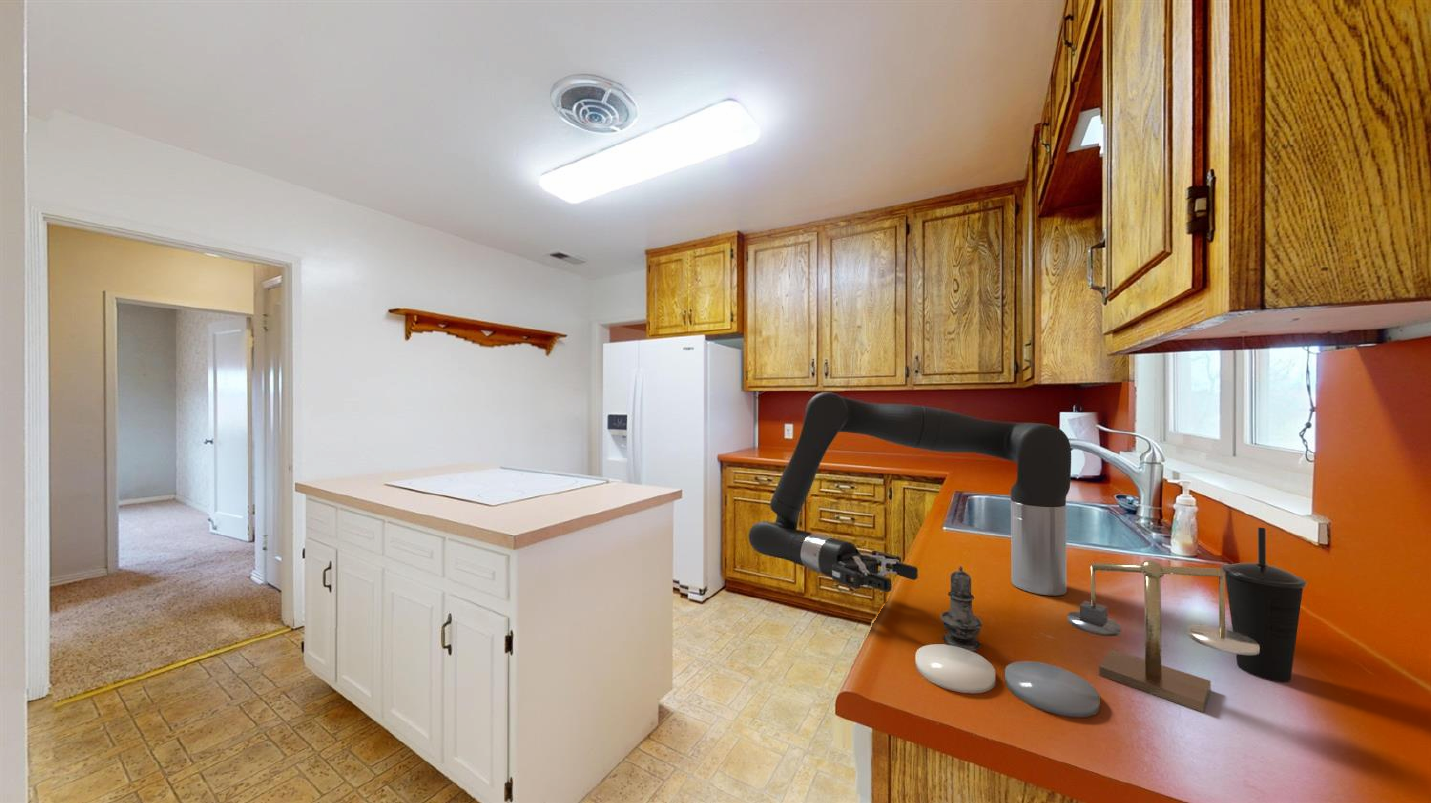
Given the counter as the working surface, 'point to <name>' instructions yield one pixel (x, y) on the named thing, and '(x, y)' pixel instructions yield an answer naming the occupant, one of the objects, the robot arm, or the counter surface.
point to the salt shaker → (961, 614)
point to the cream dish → (955, 668)
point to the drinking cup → (1265, 613)
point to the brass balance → (1159, 637)
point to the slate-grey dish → (1052, 689)
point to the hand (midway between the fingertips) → (904, 579)
